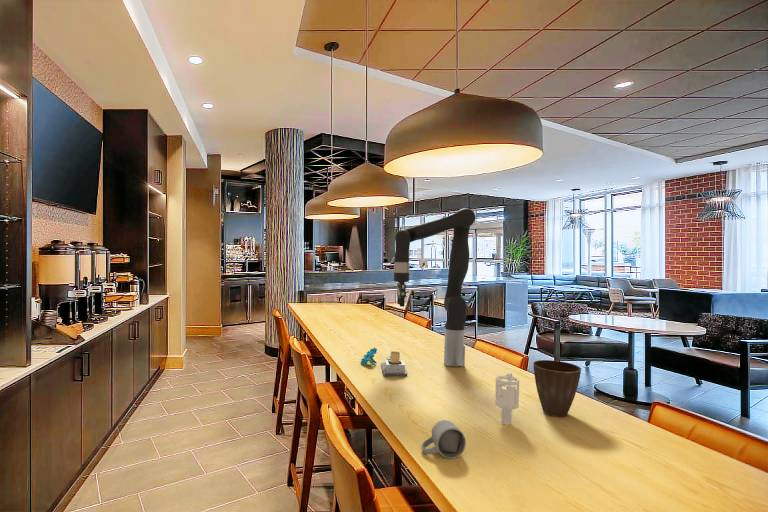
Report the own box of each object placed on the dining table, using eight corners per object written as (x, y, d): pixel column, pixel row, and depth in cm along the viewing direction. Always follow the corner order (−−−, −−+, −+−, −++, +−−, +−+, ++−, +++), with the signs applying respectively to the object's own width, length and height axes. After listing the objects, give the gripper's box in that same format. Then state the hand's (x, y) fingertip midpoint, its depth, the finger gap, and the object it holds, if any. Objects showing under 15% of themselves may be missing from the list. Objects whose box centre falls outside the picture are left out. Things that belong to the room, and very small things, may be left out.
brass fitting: (398, 369, 184) (399, 351, 184) (399, 371, 180) (400, 353, 180) (389, 369, 183) (390, 351, 183) (390, 371, 179) (391, 353, 179)
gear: (359, 357, 201) (374, 343, 201) (367, 365, 202) (382, 352, 202) (360, 366, 190) (376, 352, 190) (368, 375, 191) (384, 360, 191)
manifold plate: (402, 365, 195) (402, 355, 195) (407, 376, 177) (407, 365, 177) (381, 365, 194) (381, 355, 194) (384, 376, 176) (384, 365, 176)
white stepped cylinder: (520, 421, 131) (521, 374, 131) (515, 429, 125) (516, 379, 125) (498, 416, 135) (499, 370, 135) (491, 423, 129) (493, 375, 129)
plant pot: (575, 408, 144) (576, 362, 144) (584, 424, 130) (585, 373, 130) (530, 402, 148) (531, 358, 148) (533, 418, 134) (535, 369, 134)
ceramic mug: (455, 443, 114) (455, 415, 114) (466, 458, 106) (466, 428, 106) (418, 446, 112) (418, 418, 112) (425, 461, 104) (426, 430, 104)
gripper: (411, 272, 192) (410, 307, 192) (407, 271, 206) (406, 303, 206) (395, 272, 191) (394, 307, 191) (392, 271, 205) (391, 303, 205)
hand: (400, 305), depth 198 cm, fingers open, 8 cm apart
